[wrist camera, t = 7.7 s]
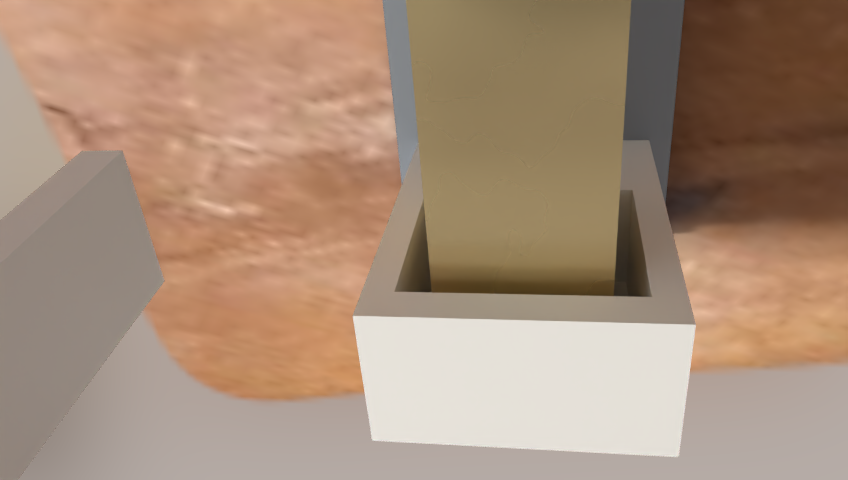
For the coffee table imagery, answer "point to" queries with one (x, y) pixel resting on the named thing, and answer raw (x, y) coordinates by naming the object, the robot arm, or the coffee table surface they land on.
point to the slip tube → (520, 141)
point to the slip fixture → (537, 302)
